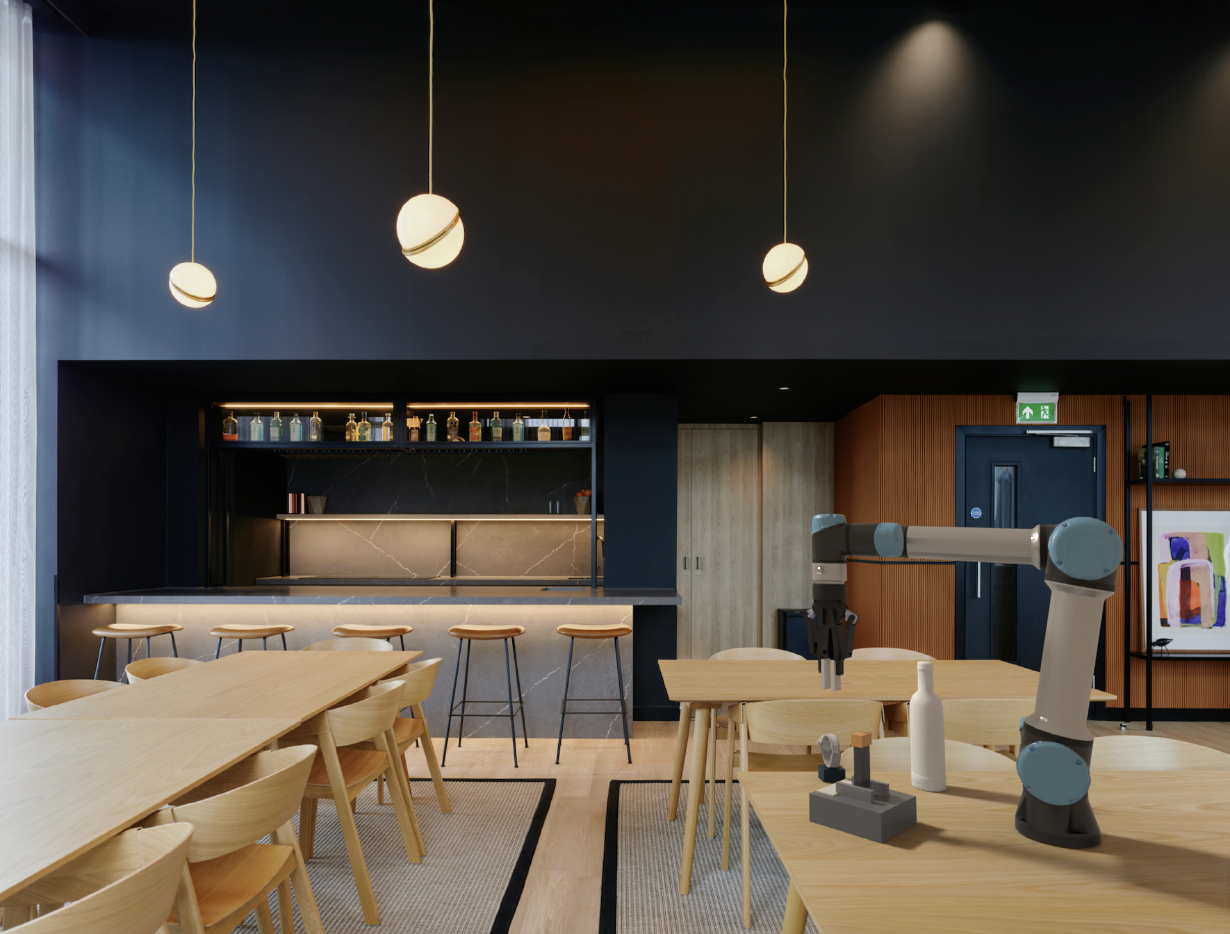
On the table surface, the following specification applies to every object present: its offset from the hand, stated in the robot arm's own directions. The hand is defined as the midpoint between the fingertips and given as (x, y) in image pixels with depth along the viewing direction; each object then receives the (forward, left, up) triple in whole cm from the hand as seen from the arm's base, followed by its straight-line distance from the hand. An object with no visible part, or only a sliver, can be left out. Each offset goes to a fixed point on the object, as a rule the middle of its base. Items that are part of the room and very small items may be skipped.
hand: (831, 689), depth 164 cm
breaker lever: (-7, 0, -20) cm, 22 cm away
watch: (+13, -22, -27) cm, 37 cm away
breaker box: (-7, 0, -26) cm, 27 cm away
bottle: (-6, -35, -27) cm, 44 cm away
